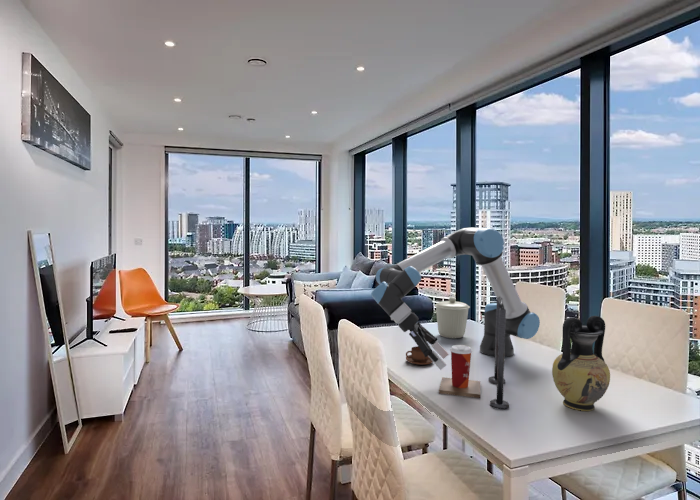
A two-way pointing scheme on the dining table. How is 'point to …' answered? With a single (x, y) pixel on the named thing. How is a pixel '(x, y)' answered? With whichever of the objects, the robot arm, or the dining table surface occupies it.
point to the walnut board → (470, 391)
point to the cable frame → (499, 357)
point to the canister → (451, 318)
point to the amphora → (582, 364)
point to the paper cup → (460, 365)
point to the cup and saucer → (417, 357)
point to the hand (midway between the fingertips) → (445, 361)
